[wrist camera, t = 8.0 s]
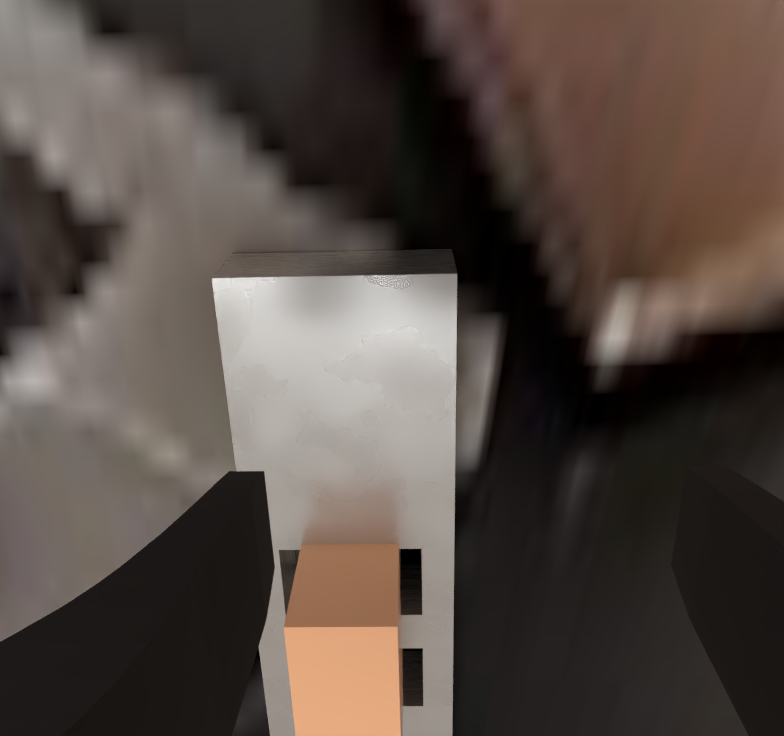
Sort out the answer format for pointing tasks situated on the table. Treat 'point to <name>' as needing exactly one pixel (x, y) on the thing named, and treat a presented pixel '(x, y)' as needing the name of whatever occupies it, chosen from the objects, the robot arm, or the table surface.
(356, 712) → the orange block
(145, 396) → the table surface
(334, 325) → the rail
